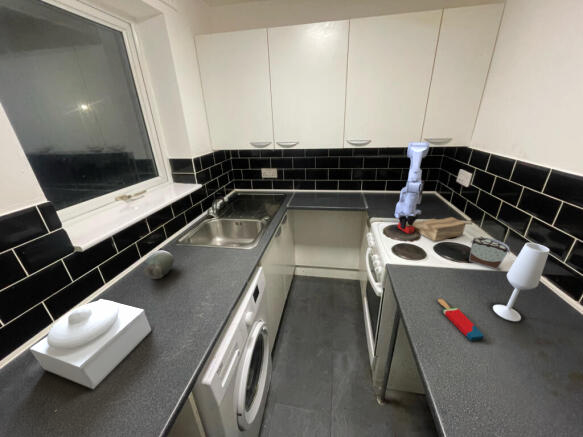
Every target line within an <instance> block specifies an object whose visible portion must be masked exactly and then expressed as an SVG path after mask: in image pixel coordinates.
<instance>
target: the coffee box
mask: <svg viewBox="0 0 583 437" xmlns="http://www.w3.org/2000/svg"><path fill="white" fill-rule="evenodd" d="M407 182H408V179H407V181H406V183H407ZM424 187H425V181H424V180H423V179H421V191H420V193H419V199H418V203H417V204H416V205H421V202H422V199H423V198H422V197H423V192H424Z"/></svg>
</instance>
